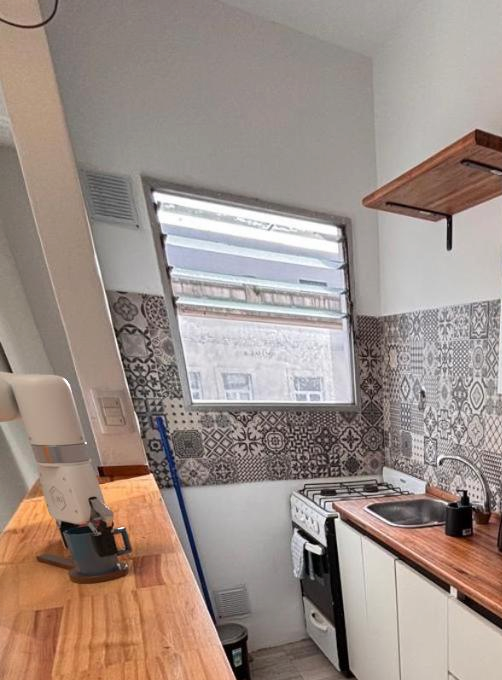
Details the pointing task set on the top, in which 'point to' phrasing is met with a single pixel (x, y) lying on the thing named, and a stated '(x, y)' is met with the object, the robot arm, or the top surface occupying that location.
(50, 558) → the spoon
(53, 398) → the robot arm
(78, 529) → the blue mug
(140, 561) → the top surface
